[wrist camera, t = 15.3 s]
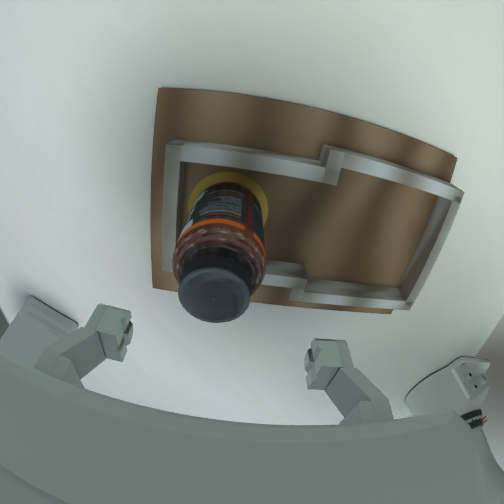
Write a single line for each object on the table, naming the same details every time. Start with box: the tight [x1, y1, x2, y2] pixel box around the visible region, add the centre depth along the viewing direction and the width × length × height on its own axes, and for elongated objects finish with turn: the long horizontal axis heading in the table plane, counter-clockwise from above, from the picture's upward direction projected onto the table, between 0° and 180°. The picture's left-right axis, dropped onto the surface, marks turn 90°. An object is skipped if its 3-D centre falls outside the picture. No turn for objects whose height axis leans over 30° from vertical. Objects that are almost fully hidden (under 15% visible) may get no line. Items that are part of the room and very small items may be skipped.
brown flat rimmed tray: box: [151, 88, 464, 314], centre depth 25 cm, size 28×20×3 cm
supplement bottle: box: [172, 182, 266, 323], centre depth 20 cm, size 6×6×11 cm
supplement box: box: [0, 296, 78, 368], centre depth 28 cm, size 9×9×15 cm
